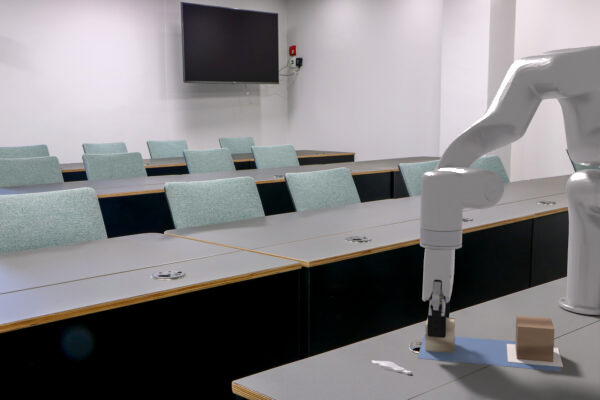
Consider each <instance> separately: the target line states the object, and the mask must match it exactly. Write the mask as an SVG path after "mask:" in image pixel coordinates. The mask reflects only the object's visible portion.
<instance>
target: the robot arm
mask: <svg viewBox="0 0 600 400" xmlns="http://www.w3.org/2000/svg"><path fill="white" fill-rule="evenodd" d="M549 99H550V100H551V99H552V100H554V99H556V100H557V101H558V103H559V106H560V108H561V111H562V116H563V124H564V131H565V132H564V133H565V140H566V141H565V142H566V147H567V153H568V156H569V159H570V160H571V161H572V162H573V163H575V164H576V165H581V166H588V167H600V45H590V46H589V45H588V46H581V47H570V48H561V49H553V50H547V51H545V52H542V53H540V54H538V55H529V56H525V57H524V56H523V57H521V58H518V59H517V60H515V61H514V62H513V63H512V64H511V65H510V66H509V67H508V69H507V71H506V73H505V75H504V77H503V79H502V81H501V82H500V84H499V86H498V88H497V90H496V92H495V93H494V96H493V97H492V99H491V101H490V103H489V105H488V106H487V108H486V110H485V112H484V114H483V115H482V116H481V117H480V119H478V120H477V121H475V122H473V124H471V125H470V126H469V127H467V128H466V129H465V130H464V131H463V132H462V133H460V134H459V135H457V136H456V137H455V138H454V139H453V140H452V141H451V142H450V143H449V144H448V146H447V147H446V148H445V150H444V151H443V153H442V154H441V157H440V159H439V160H438V162H437V164H436V166H435V167H434V170H428V171H426V172H424V173H423V174H422V176H421V181H420V183H421V184H420V223H419V227H420V228H419V246H420V247H422V248H424V254H423V255H424V258H423V273H422V274H423V275H422V276H423V277H422V295H421V296H422V297H421V299H422V301H423V302H425V303H426V302H427V301H429V305H428V306H429V307H428V313H427V318H428V326H427V335H428V336H429V337H439V338H445V336H446V318H450V309H451V307H450V305H451V304H450V302H451V301H450V300H451V296H452V292H453V286H454V285H453V284H454V278H455V277H454V275H455V259H456V257H455V254H456V253H455V252H456V250H459V249H461V248H462V247H463V244H462V243H463V212H464V209H470V210H473V209H474V210H486V209H490V208H493V207H495V206H497V204H499V202H500V201H501V200H502V198H503V197H504V191H505V186H504V181H503V179H502V178H501V177H500V176H499V174H498V173H496V172H494V171H493V170H489V169H486V168H474V167H472V165H473V164H474V163H475V162H476V161H478V160H479V159H480V158H482V157H483V156H485V155H486V154H489V153H491V152H493V151H496V150H499V149H501V148H504V147H507V146H508V145H511V144H512V143H513V144H514V143H515V142H518V141H519V140H520V139H522V138H524V136H525V134H526V133H527V130H528V128H529V126H530V124H531V122H532V120H533V119H534V116H535V114H536V112H537V110H538V108H539V107H540V104H541V103H542V102H543V101H544V100H549ZM565 199H566V205H567V209H568V211H567V212H568V242H567V243H568V245H567V247H568V248H567V270H566V271H567V273H566V275H567V276H566V295H564V296H562V297H560V298H559V300H558V305H559V306H560V307H561V308H562V309H563V310H566V311H569V312H571V313H576V314H582V315H590V316H600V169H595V168H587V169H580V170H577V171H575V172H573V173H572V174H571V175H570V176H569V178H568V179H567V181H566V183H565Z"/></svg>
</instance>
